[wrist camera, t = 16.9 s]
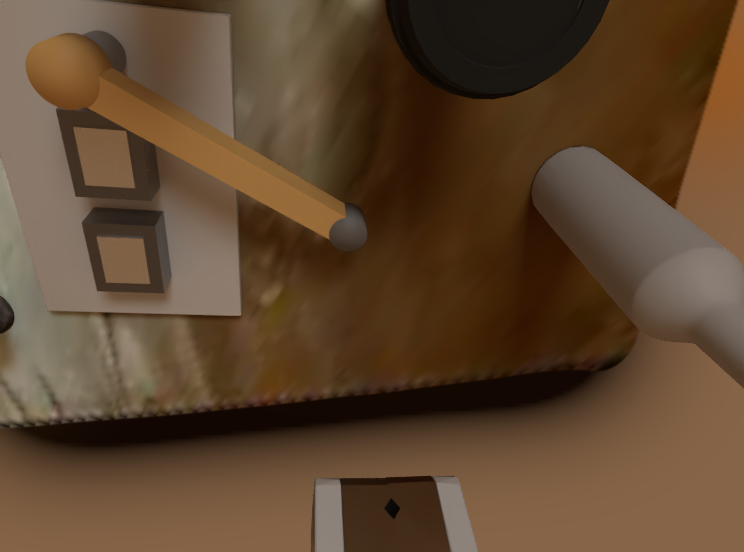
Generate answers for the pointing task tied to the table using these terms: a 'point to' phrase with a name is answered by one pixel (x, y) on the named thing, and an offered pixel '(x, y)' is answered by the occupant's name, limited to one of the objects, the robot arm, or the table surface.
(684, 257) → the bottle
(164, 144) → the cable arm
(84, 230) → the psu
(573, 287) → the table surface
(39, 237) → the board
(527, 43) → the coffee cup
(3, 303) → the dark grey tall piece
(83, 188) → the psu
